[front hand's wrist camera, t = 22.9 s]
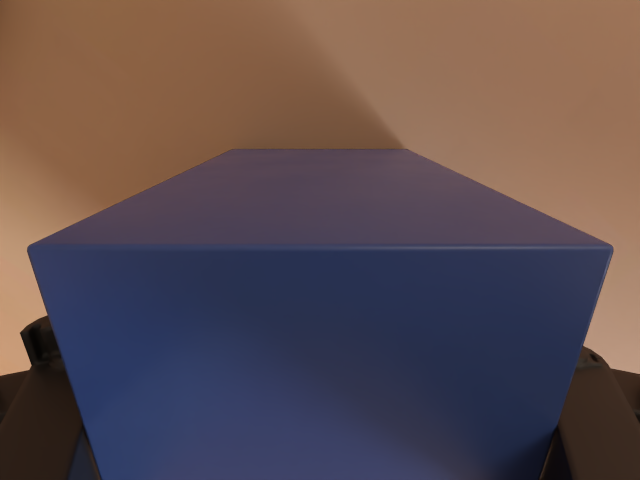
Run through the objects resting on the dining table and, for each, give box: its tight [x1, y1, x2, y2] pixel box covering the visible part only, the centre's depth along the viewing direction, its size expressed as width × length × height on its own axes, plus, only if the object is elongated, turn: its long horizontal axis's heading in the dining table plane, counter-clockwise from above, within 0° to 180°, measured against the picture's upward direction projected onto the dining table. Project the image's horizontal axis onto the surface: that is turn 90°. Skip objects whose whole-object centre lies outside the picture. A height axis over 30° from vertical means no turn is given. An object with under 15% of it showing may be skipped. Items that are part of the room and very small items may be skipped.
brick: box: [27, 149, 613, 480], centre depth 11 cm, size 8×7×11 cm
